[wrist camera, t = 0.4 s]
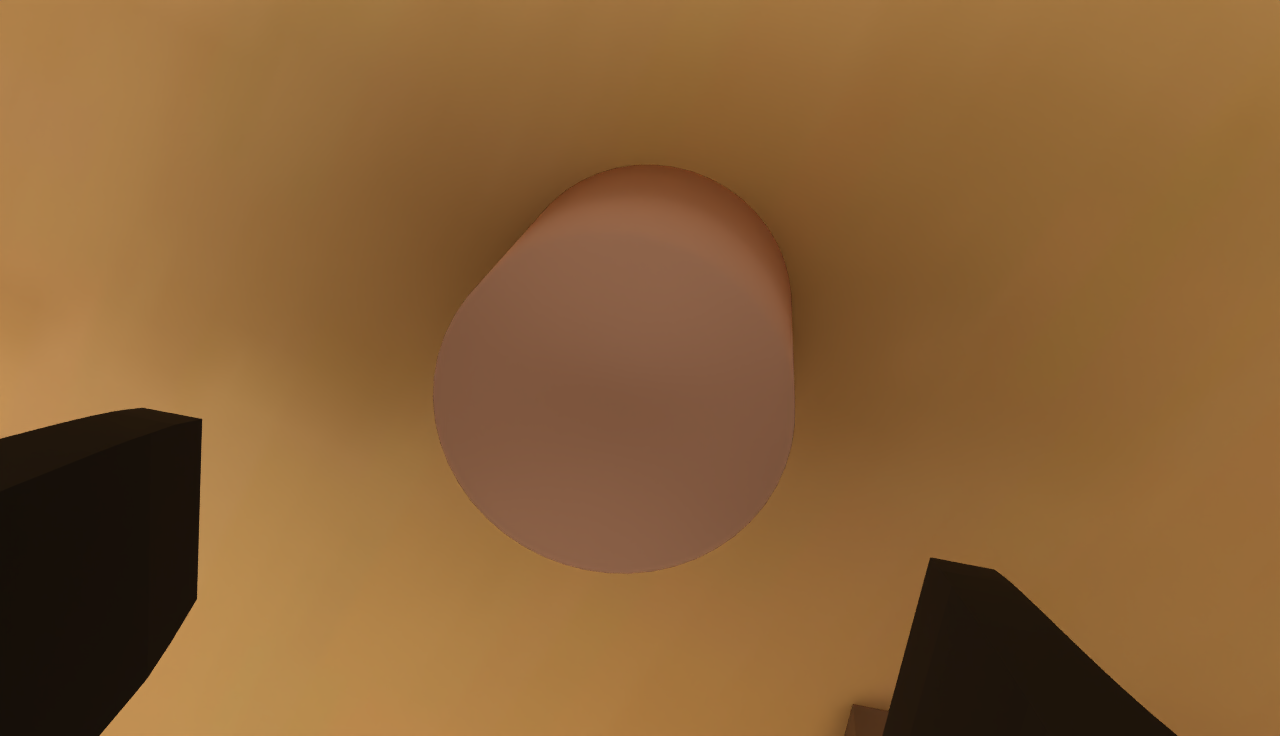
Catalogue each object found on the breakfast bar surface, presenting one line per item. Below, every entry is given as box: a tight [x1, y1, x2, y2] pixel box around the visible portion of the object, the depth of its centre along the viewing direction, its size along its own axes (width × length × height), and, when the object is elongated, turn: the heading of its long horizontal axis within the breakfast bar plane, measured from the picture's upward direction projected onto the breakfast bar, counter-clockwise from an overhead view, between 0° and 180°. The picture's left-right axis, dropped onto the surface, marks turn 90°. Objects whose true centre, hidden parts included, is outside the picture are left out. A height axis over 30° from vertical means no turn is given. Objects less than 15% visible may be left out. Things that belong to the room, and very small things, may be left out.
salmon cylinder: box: [433, 165, 795, 573], centre depth 18 cm, size 5×5×5 cm
